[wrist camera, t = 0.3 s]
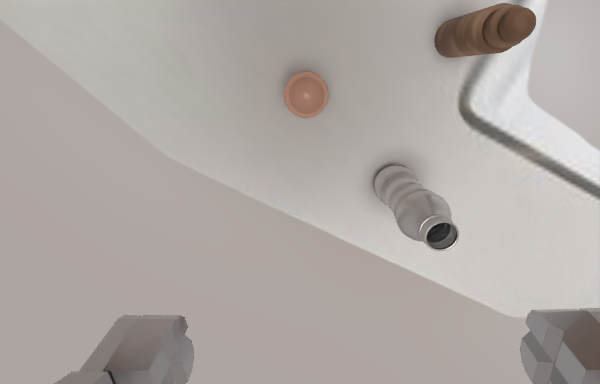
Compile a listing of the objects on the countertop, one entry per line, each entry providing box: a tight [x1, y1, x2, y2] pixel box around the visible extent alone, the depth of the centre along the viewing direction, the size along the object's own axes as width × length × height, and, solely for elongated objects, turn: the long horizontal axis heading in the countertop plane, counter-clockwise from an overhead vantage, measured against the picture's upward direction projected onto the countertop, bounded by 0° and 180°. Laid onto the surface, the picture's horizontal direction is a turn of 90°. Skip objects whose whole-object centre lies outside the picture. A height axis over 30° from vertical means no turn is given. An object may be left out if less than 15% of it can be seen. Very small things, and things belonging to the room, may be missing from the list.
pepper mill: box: [435, 3, 536, 57], centre depth 41 cm, size 5×5×17 cm
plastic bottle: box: [374, 165, 459, 251], centre depth 47 cm, size 6×7×20 cm
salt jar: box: [284, 72, 328, 118], centre depth 47 cm, size 6×6×9 cm
